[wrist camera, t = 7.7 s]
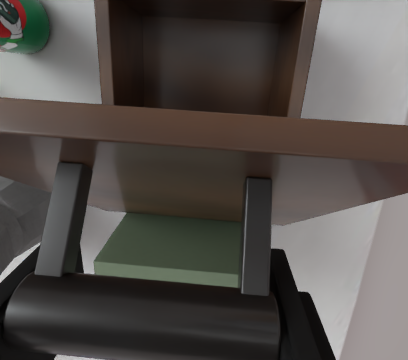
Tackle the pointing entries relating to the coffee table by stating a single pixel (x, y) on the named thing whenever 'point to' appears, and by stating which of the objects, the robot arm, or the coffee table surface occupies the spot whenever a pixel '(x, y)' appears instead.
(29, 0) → the soda can
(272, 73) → the chest
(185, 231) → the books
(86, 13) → the coffee table surface
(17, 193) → the coffeepot
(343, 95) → the coffee table surface
